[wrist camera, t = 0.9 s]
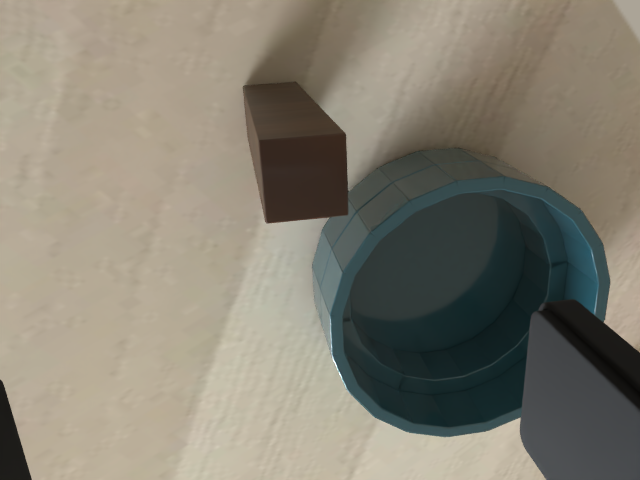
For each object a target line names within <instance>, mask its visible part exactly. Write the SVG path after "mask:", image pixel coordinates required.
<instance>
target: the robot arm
mask: <svg viewBox="0 0 640 480" xmlns="http://www.w3.org/2000/svg"><path fill="white" fill-rule="evenodd" d="M520 435H521V439H522V442H523V445H524V447H525V449H526V451H527V452H528V453H529V455H530V456H531V458H532V459H533V461H534V462H535V464H536V465H537V467H538V468H539V469H540V471H541V472H542V474H543V475H544V477H545V478H546V480H640V353H639V352H638V351H637V350H636V349H635V348H633V347H632V346H631V345H630V344H629V343H627V342H626V341H625V340H624V339H623V338H621V337H620V336H619V335H618V334H617V333H615V332H614V331H613V330H612V329H611V328H609V327H608V326H607V325H606V324H605V323H603V322H602V321H601V320H600V319H599V318H597V317H596V316H595V315H594V314H593V313H591V312H590V311H589V310H588V309H587V308H585V307H584V306H583V305H582V304H581V303H579V302H578V301H576V300H575V299H569V300H561V301H553V302H545V303H543V304H541V306H540V307H539V310H538V311H535V312H534V313H533V314H532V316H531V320H530V329H529V340H528V350H527V360H526V371H525V381H524V391H523V401H522V412H521V422H520ZM0 480H32V479H31V475H30V472H29V469H28V465H27V462H26V459H25V455H24V452H23V448H22V445H21V442H20V438H19V435H18V432H17V428H16V425H15V421H14V418H13V415H12V411H11V408H10V404H9V401H8V398H7V394H6V391H5V388H4V385H3V382H2V381H1V380H0Z"/></svg>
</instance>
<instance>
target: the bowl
mask: <svg viewBox="0 0 640 480" xmlns="http://www.w3.org/2000/svg"><path fill="white" fill-rule="evenodd" d="M348 211H349V214H348V215H347V216H337V217H330V218H329V220H328V221H327V223H326V224H325V226H324V227H323V229H322V233H321V236H320V240H319V243H318V247H317V250H316V254H315V257H314V261H313V264H312V265H313V266H312V272H313V289H314V302H315V305H316V308H317V312H318V315H319V318H320V321H321V324H322V327H323V330H324V334H325V337H326V340H327V343H328V346H329V349H330V353H331V356H332V358H333V360H334V363H335V365H336V367H337V369H338V372H339V374H340V376H341V378H342V381H343V383H344V385H345V387H346V390H348V392H349V393H350V394H351V395H352V396H353V397H354V398H355V399H356V400H357V401H358V402H359V403H360V404H361V405H362V406H363V407H364V408H365V409H366V410H367V411H368V412H369V413H370V414H371V415H372V416H374V417H375V418H377V419H379V420H382V421H384V422H386V423H388V424H390V425H392V426H395V427H397V428H399V429H401V430H403V431H406V432H409V433H416V434H424V435H432V436H440V437H452V436H459V435H465V434H472V433H479V432H485V431H489V430H491V429H494V428H496V427H498V426H501V425H503V424H506V423H508V422H510V421H513V420H515V419H518V418H520V417H521V412H522V401H523V391H524V381H525V371H526V360H527V350H528V340H529V329H530V320H531V316H532V314H533V313H534V312H535V311H538V310H539V307H540V306H541V304H543V303H545V302H553V301H561V300H569V299H575V300H576V301H578V302H579V303H581V304H582V305H583V306H584V307H585V308H587V309H588V310H589V311H590V312H591V313H593V314H594V315H595V316H596V317H597V318H599V319H600V320H601V321H602V322H603V323H604V320H605V315H606V308H607V301H608V295H609V288H610V277H609V272H608V267H607V261H606V256H605V251H604V246H603V243H602V241H601V239H600V238H599V236H598V235H597V233H596V231H595V230H594V228H593V227H592V225H591V224H590V222H589V221H588V219H587V217H586V216H585V214H584V213H583V211H582V210H581V209H580V208H578V207H577V206H575V205H574V204H573V203H571V202H570V201H568V200H567V199H565V198H564V197H562V196H561V195H560V194H558V193H557V192H555V191H554V190H552V189H551V188H550V187H548V186H546V185H544V184H543V183H541V182H539V181H537V180H535V179H534V178H532V177H530V176H528V175H526V174H525V173H523V172H521V171H519V170H518V169H516V168H514V167H512V166H510V165H509V164H507V163H505V162H503V161H501V160H500V159H498V158H496V157H494V156H490V155H486V154H482V153H478V152H474V151H470V150H466V149H462V148H448V149H437V150H425V151H418V152H414V153H412V154H409V155H407V156H405V157H402V158H400V159H397V160H395V161H393V162H390V163H388V164H385V165H383V166H381V167H379V168H377V169H376V170H375V171H373V172H372V173H371V174H370V175H369V176H367V177H366V178H365V179H364V180H362V181H361V182H360V183H359V184H358V185H356V186H355V187H354V188H353V189H352V190H350V191H349V192H348Z"/></svg>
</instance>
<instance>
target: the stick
mask: <svg viewBox="0 0 640 480" xmlns="http://www.w3.org/2000/svg"><path fill="white" fill-rule="evenodd" d="M243 93H244V103H245V114H246V124H247V135H248V141H249V146H250V151H251V156H252V160H253V165H254V170H255V175H256V179H257V184H258V189H259V194H260V198H261V203H262V208H263V213H264V218H265V222H266V223H277V222H287V221H297V220H307V219H317V218H327V217H337V216H347V215H348V214H349V211H348V181H347V151H346V134H345V132H344V131H343V130H342V129H341V128H340V127H339V126H338V125H337V124H336V123H335V122H334V121H333V120H332V119H331V118H330V117H329V116H328V115H327V114H326V113H325V112H324V111H323V110H322V109H321V108H320V106H319V105H318V104H317V103H316V102H315V101H314V100H313V99H312V98H311V97H310V96H309V95H308V94H307V93H306V92H305V91H304V90H303V89H302V88H301V87H300V86H299V85H298V84H297V83H296V82H288V83H274V84H260V85H245V86H243Z"/></svg>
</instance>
